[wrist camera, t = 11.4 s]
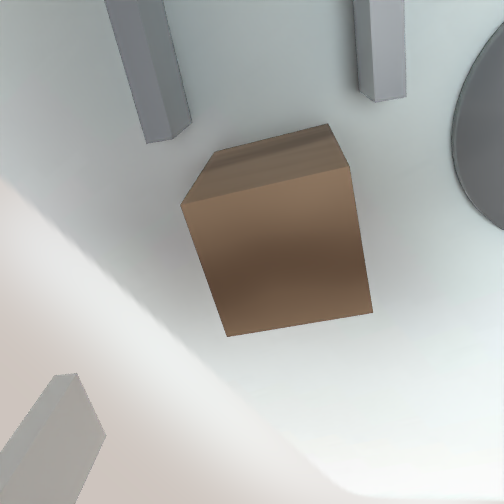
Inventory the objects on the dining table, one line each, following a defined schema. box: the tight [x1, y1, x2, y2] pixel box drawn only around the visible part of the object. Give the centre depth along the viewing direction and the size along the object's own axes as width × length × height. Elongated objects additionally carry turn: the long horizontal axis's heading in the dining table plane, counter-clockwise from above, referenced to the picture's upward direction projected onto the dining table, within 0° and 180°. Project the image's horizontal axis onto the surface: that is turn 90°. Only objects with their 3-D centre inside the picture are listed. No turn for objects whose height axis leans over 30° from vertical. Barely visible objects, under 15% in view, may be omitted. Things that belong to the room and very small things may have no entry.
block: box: [180, 124, 373, 337], centre depth 19 cm, size 6×6×8 cm
